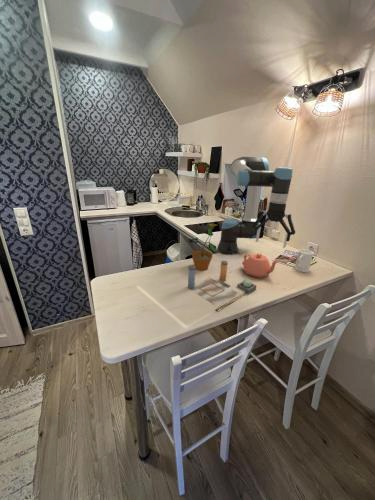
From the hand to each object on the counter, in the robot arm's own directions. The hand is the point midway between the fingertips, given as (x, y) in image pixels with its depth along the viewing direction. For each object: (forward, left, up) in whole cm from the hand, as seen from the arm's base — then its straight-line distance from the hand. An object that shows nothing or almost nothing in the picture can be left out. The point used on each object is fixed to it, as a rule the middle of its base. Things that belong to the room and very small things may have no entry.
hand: (270, 244), depth 113 cm
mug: (+5, +34, -24) cm, 42 cm away
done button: (-3, -12, -22) cm, 25 cm away
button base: (-3, -12, -24) cm, 26 cm away
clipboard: (-12, -28, -24) cm, 38 cm away
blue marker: (-21, -35, -23) cm, 46 cm away
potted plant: (-34, -15, -24) cm, 44 cm away
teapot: (-9, +8, -24) cm, 27 cm away
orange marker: (-16, -16, -24) cm, 32 cm away
